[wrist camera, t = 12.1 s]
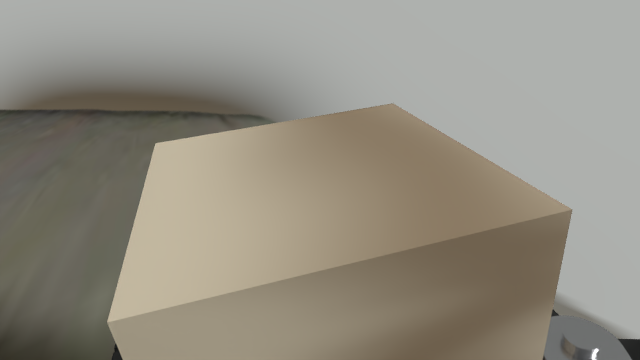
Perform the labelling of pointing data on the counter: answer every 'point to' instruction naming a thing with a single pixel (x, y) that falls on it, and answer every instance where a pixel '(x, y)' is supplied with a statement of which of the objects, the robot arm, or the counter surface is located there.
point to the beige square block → (337, 247)
